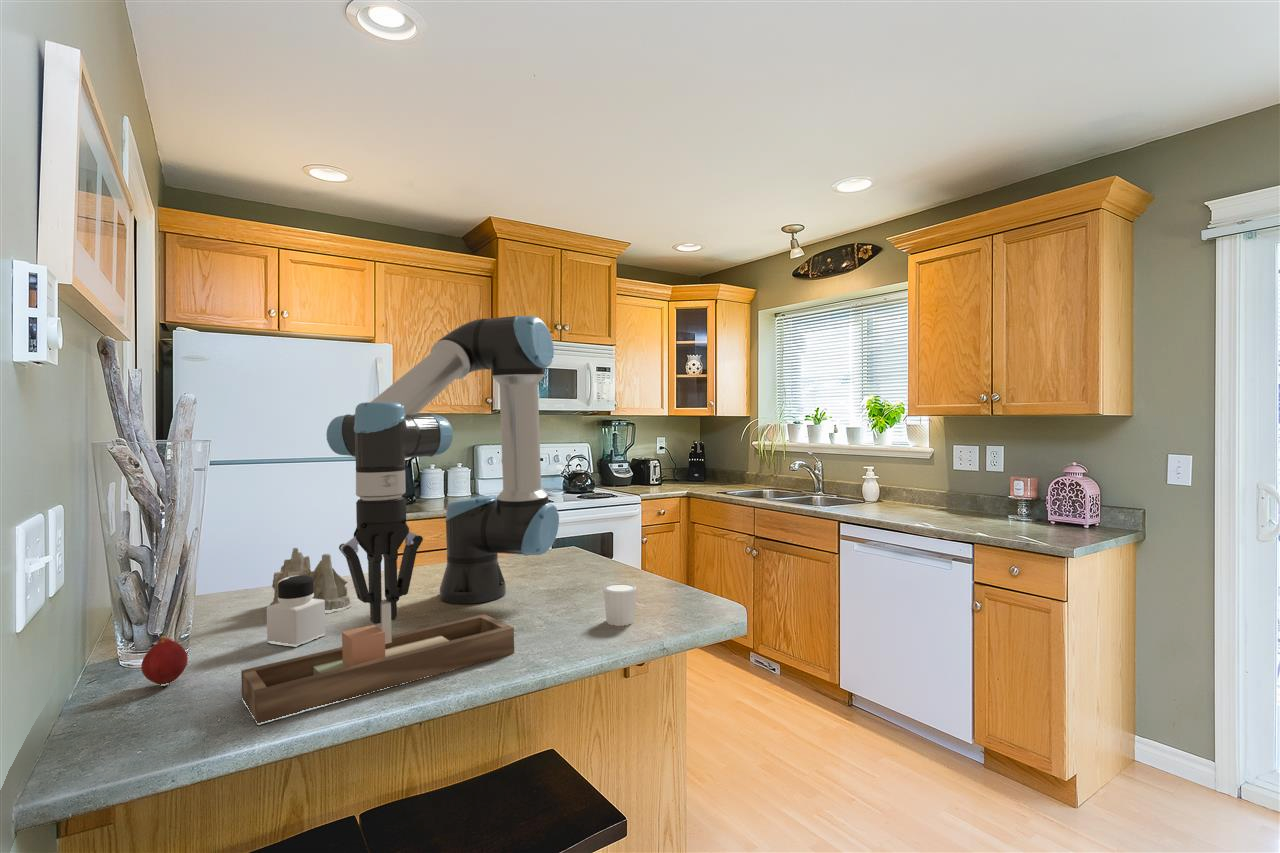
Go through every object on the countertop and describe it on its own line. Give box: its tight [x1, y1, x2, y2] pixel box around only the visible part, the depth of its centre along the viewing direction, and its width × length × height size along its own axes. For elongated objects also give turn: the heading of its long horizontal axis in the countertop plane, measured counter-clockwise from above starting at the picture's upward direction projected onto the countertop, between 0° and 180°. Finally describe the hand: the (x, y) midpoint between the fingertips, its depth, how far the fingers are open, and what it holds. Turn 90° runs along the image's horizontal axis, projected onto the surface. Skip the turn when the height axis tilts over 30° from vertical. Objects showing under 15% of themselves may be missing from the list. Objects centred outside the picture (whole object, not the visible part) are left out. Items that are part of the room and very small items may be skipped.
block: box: [341, 624, 385, 667], centre depth 103 cm, size 5×5×5 cm
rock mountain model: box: [269, 547, 352, 610], centre depth 144 cm, size 16×16×15 cm
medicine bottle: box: [266, 575, 326, 645], centre depth 122 cm, size 7×7×12 cm
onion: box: [141, 636, 189, 686], centre depth 102 cm, size 6×6×8 cm
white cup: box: [602, 583, 637, 627], centre depth 131 cm, size 7×7×7 cm
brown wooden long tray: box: [240, 613, 515, 723], centre depth 105 cm, size 11×40×4 cm, turn 131°
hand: (384, 641), depth 105 cm, fingers closed
